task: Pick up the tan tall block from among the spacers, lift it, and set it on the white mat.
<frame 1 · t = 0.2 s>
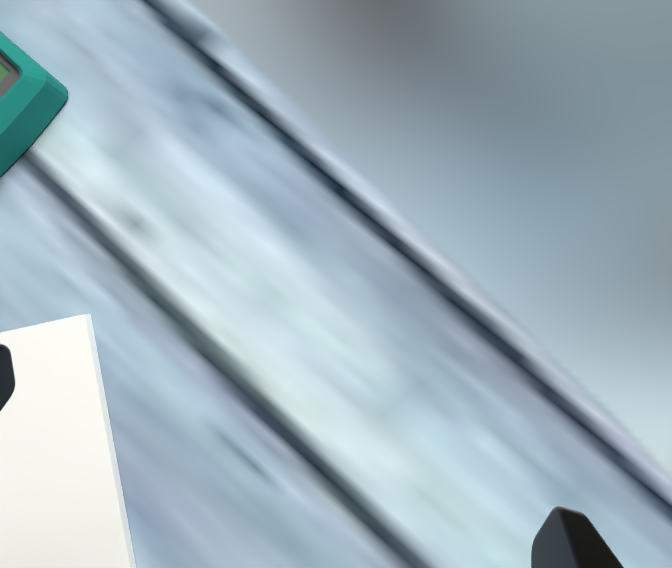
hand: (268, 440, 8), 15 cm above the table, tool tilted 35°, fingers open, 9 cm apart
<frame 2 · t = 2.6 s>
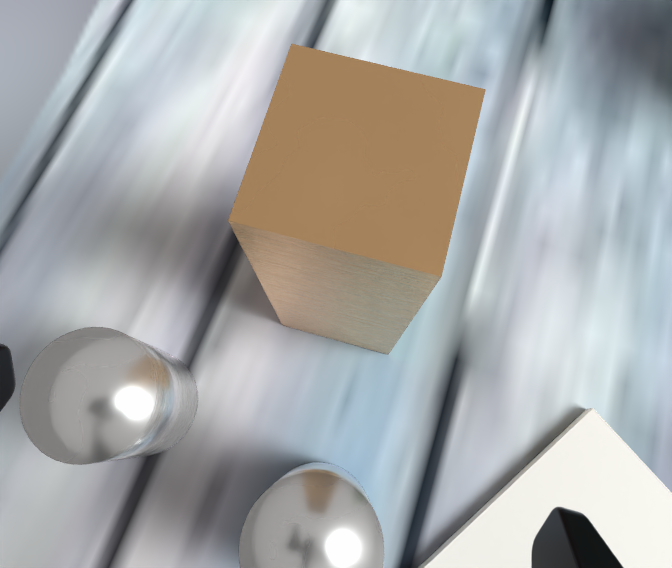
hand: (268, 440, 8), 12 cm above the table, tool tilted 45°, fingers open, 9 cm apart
tan tall block: (349, 288, 22), on the table
spacer 1: (146, 402, 20), on the table
spacer 2: (317, 519, 19), on the table
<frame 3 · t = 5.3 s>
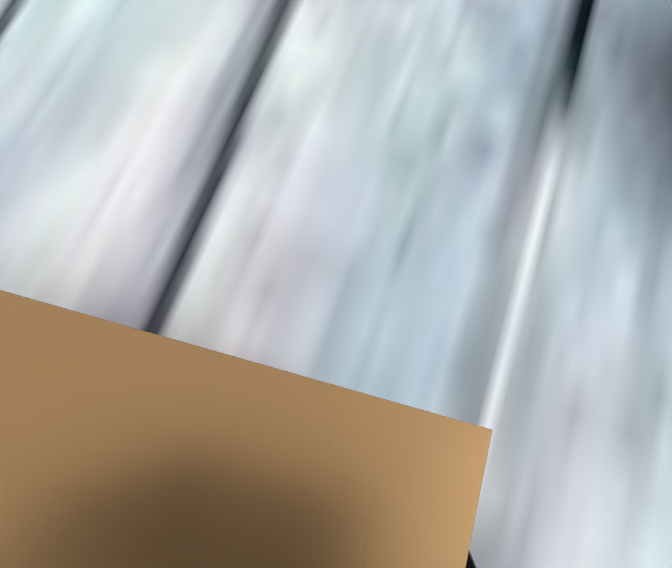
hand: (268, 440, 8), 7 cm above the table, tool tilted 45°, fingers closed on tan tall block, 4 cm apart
tan tall block: (284, 486, 14), on the table, touching gripper
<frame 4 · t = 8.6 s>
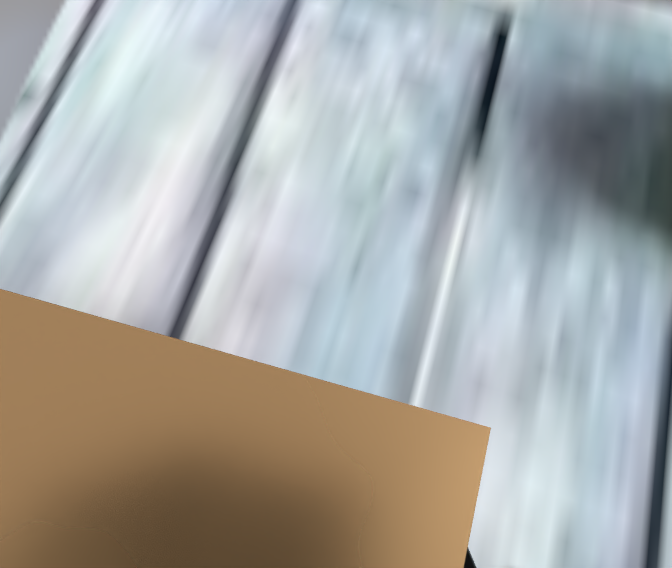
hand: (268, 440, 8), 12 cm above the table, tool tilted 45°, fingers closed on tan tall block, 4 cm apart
tan tall block: (283, 485, 14), point 6 cm above the table, touching gripper
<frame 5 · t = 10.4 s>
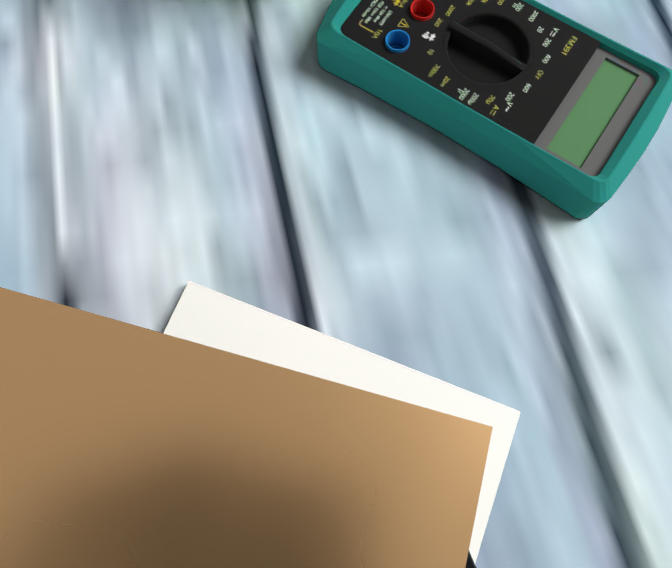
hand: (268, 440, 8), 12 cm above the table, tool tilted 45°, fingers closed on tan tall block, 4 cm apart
tan tall block: (284, 485, 14), point 6 cm above the table, touching gripper
white mat: (290, 493, 20), on the table
digital multimeter: (480, 91, 25), on the table
when the fingers open (8 cm above the table, at t = 12.0 s): tan tall block stays where it is, resting on white mat.
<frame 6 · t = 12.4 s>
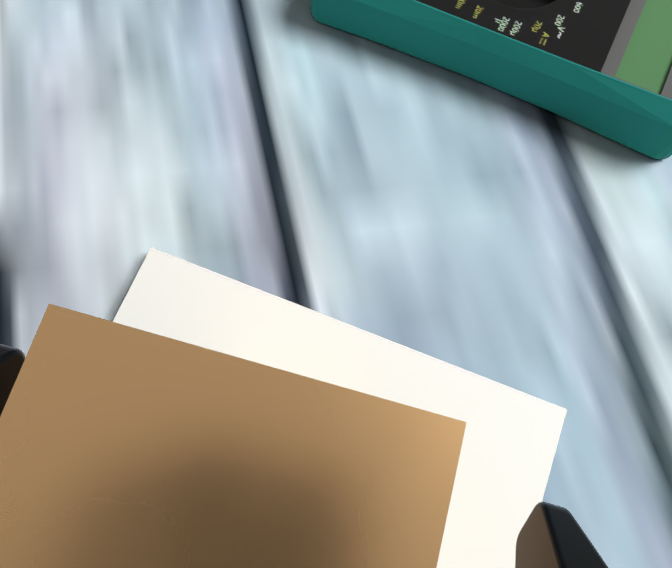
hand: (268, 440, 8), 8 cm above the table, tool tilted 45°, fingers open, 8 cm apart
tan tall block: (288, 479, 15), point 1 cm above the table, touching white mat
white mat: (276, 513, 16), on the table
digital multimeter: (509, 27, 21), on the table
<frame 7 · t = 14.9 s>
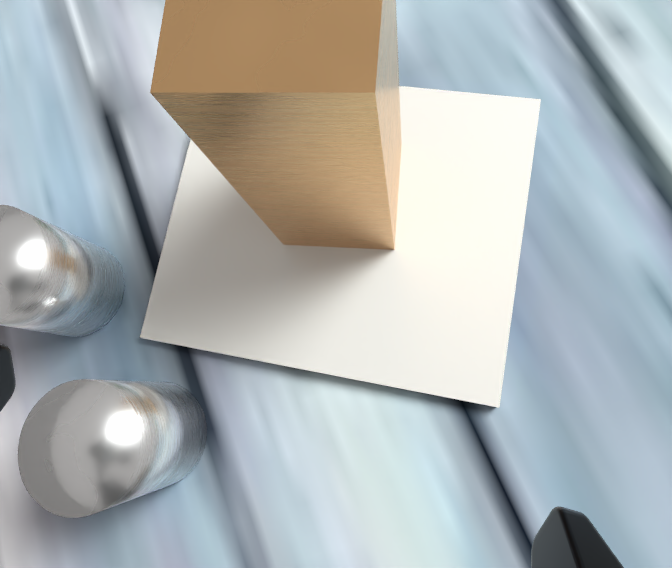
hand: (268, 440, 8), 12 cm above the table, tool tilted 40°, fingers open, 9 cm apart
tan tall block: (342, 194, 21), resting on white mat
white mat: (340, 223, 21), on the table
spacer 2: (80, 289, 22), on the table
spacer 3: (158, 433, 21), on the table
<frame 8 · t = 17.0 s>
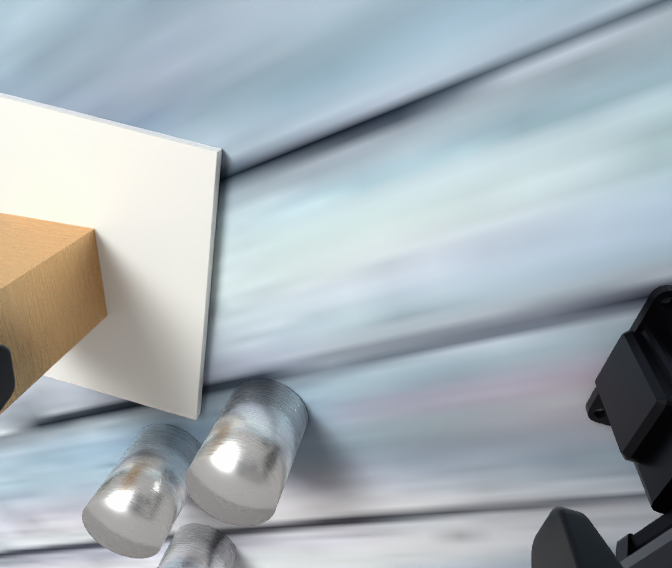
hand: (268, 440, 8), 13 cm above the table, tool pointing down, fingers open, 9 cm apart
tan tall block: (56, 265, 24), resting on white mat
white mat: (85, 266, 24), on the table
spacer 1: (205, 545, 33), on the table
spacer 2: (171, 451, 29), on the table
spacer 3: (268, 411, 26), on the table
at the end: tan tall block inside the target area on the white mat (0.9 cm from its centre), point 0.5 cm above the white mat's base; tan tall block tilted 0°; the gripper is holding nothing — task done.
